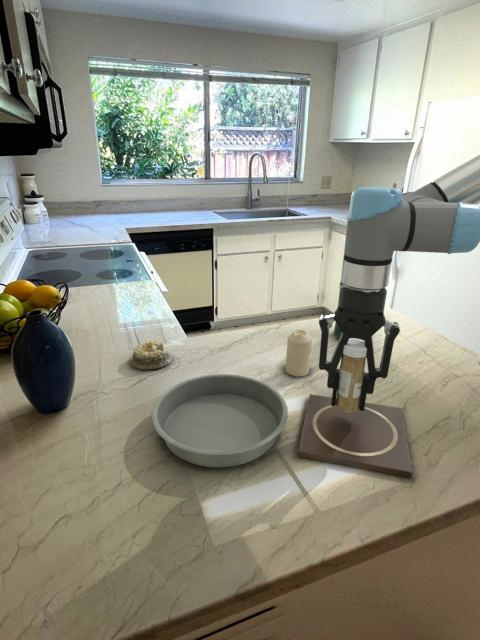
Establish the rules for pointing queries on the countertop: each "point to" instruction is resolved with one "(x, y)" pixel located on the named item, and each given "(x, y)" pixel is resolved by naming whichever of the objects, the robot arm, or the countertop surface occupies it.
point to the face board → (356, 437)
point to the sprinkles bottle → (351, 376)
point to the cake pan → (220, 419)
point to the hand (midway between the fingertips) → (347, 404)
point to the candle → (298, 353)
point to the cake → (150, 356)
